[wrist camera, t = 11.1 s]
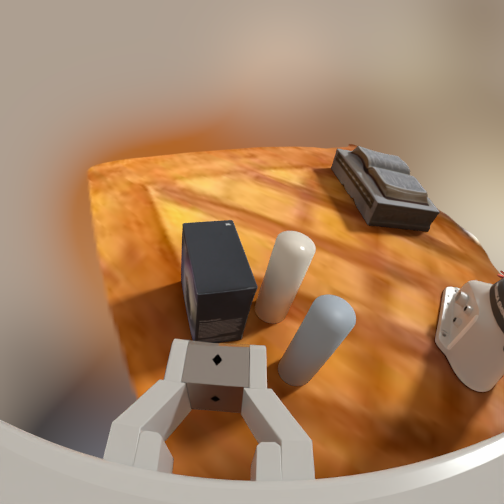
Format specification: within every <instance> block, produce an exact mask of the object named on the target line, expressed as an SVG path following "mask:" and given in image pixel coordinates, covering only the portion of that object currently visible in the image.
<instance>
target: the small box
mask: <svg viewBox="0 0 504 504" xmlns="http://www.w3.org/2000/svg"><path fill="white" fill-rule="evenodd" d="M181 282H182V288H183V294H184V300H185V306H186V311H187V316H188V321H189V326H190V331H191V335H192V340H193V341H200V342H209V343H221V342H228V341H235V340H240V339H242V336H243V332H244V328H245V324H246V321H247V318H248V314H249V311H250V307H251V304H252V301H253V298H254V295H255V292H256V290H257V284H256V282H255V279H254V276H253V274H252V271H251V268H250V266H249V263H248V260H247V257H246V255H245V252H244V249H243V247H242V244H241V241H240V239H239V236H238V233H237V231H236V228H235V225H234V223H233V221H232V220H227V221H210V222H195V223H183V231H182V263H181Z"/></svg>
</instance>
